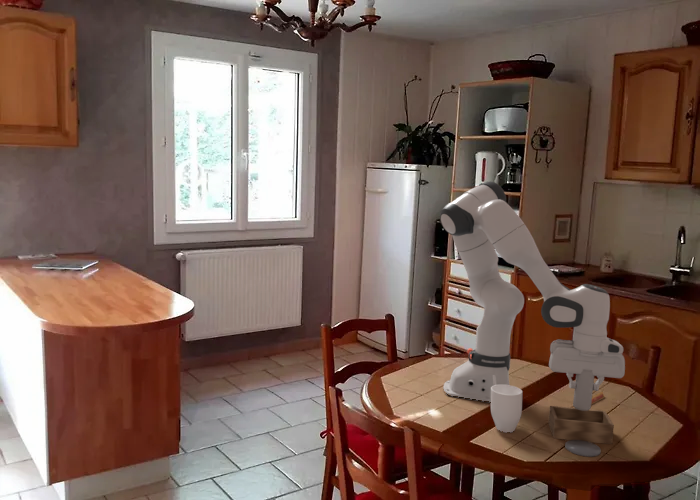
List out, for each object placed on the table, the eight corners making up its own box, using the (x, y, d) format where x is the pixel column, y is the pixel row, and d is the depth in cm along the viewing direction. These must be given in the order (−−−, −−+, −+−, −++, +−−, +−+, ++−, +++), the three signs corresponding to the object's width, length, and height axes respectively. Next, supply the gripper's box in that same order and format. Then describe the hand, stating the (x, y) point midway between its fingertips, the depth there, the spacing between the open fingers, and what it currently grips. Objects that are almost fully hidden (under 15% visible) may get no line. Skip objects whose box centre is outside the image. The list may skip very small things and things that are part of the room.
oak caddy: (553, 438, 176) (555, 419, 176) (548, 423, 187) (549, 405, 186) (612, 444, 174) (613, 425, 173) (603, 428, 184) (605, 410, 183)
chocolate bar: (581, 405, 204) (582, 398, 204) (597, 396, 212) (598, 390, 212) (589, 407, 202) (590, 400, 202) (605, 398, 211) (606, 392, 210)
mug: (520, 437, 176) (522, 396, 175) (488, 433, 179) (489, 392, 177) (521, 421, 187) (523, 382, 186) (491, 418, 190) (492, 379, 188)
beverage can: (592, 412, 177) (596, 371, 176) (574, 410, 178) (578, 369, 176) (588, 406, 182) (593, 366, 180) (571, 404, 183) (575, 364, 181)
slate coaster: (568, 454, 166) (568, 452, 166) (562, 440, 175) (562, 438, 175) (603, 458, 165) (604, 456, 165) (596, 443, 174) (596, 441, 173)
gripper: (553, 341, 176) (548, 388, 177) (629, 348, 173) (623, 396, 175) (549, 335, 182) (544, 381, 184) (622, 342, 179) (617, 388, 181)
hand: (583, 389), depth 179 cm, fingers closed on beverage can, 5 cm apart
